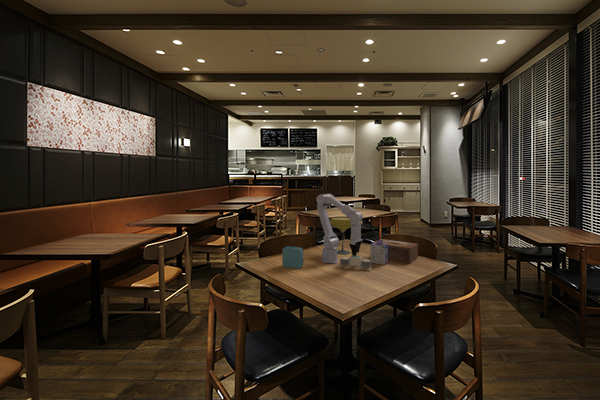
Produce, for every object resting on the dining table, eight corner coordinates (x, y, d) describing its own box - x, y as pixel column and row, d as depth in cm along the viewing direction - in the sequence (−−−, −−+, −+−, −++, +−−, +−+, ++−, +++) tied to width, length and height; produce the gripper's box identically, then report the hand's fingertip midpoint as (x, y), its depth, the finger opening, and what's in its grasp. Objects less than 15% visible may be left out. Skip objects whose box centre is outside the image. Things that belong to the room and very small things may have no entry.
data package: (303, 266, 188) (303, 247, 187) (300, 268, 184) (300, 249, 182) (285, 264, 192) (285, 246, 191) (282, 266, 188) (282, 247, 187)
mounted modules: (340, 264, 187) (340, 259, 187) (342, 261, 192) (342, 256, 191) (369, 267, 180) (369, 262, 180) (371, 264, 185) (371, 259, 185)
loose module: (350, 264, 185) (350, 256, 185) (351, 263, 189) (351, 255, 188) (360, 266, 183) (360, 257, 183) (361, 264, 187) (361, 255, 186)
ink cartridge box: (388, 263, 194) (388, 240, 193) (385, 265, 189) (385, 242, 188) (373, 260, 200) (373, 238, 198) (369, 262, 195) (370, 240, 194)
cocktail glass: (328, 255, 214) (328, 219, 212) (331, 248, 232) (331, 216, 229) (354, 256, 210) (355, 220, 208) (355, 250, 228) (356, 216, 225)
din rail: (339, 265, 187) (339, 264, 187) (341, 262, 192) (341, 261, 192) (370, 268, 180) (370, 267, 180) (372, 266, 185) (372, 265, 185)
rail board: (338, 267, 186) (338, 265, 186) (342, 263, 194) (342, 261, 194) (370, 271, 178) (370, 269, 178) (372, 266, 187) (372, 265, 187)
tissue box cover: (417, 258, 205) (417, 243, 204) (410, 263, 194) (410, 248, 193) (381, 252, 221) (381, 239, 220) (372, 256, 210) (372, 242, 209)
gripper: (360, 234, 176) (359, 257, 177) (364, 230, 189) (364, 251, 191) (348, 233, 179) (347, 256, 180) (353, 229, 192) (353, 250, 193)
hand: (355, 254), depth 185 cm, fingers open, 7 cm apart
